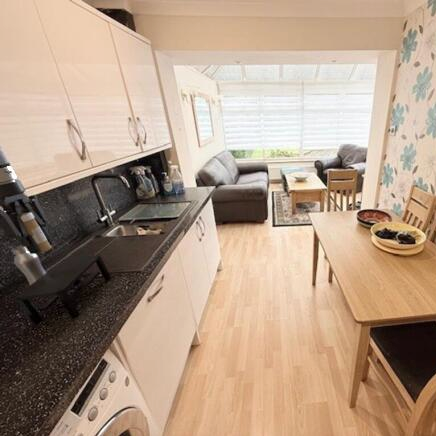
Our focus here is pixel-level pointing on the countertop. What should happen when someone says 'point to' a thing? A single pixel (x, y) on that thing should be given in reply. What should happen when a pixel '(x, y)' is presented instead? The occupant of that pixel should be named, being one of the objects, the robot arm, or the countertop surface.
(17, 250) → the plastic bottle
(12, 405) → the countertop surface
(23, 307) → the stand
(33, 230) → the sprinkles bottle
